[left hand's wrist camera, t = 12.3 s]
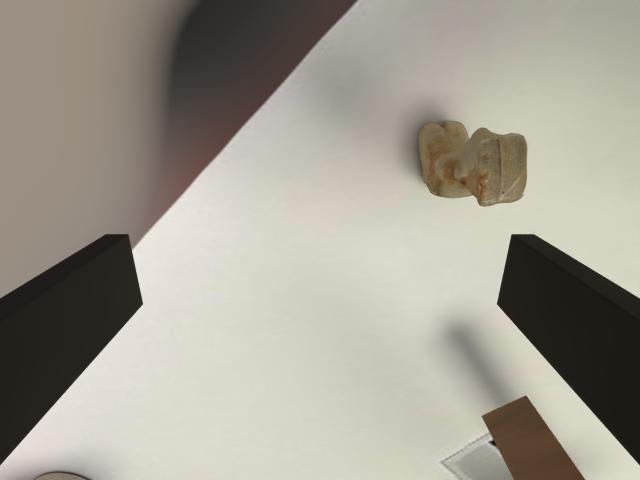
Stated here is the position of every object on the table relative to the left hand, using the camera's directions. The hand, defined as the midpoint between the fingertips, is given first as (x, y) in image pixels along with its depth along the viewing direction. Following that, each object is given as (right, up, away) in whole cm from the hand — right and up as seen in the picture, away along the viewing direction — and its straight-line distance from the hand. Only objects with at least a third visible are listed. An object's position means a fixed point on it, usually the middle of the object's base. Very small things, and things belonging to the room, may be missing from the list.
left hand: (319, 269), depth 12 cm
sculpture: (+13, +10, +26) cm, 31 cm away
